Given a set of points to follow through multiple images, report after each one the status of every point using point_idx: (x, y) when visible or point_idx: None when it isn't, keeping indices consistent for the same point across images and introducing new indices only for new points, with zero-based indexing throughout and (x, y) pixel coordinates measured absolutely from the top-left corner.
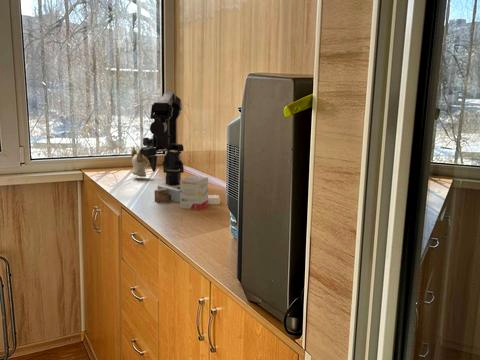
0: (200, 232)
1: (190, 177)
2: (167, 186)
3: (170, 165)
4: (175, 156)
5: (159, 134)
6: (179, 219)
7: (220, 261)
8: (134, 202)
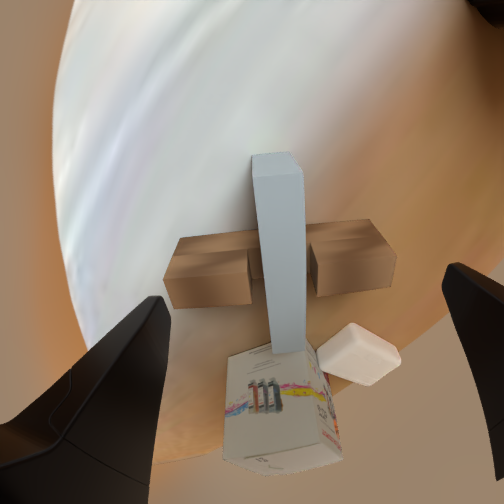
0: (177, 436)
1: (288, 458)
2: (300, 244)
3: (464, 293)
4: (491, 440)
5: None
6: (173, 400)
7: (157, 459)
8: (92, 182)
